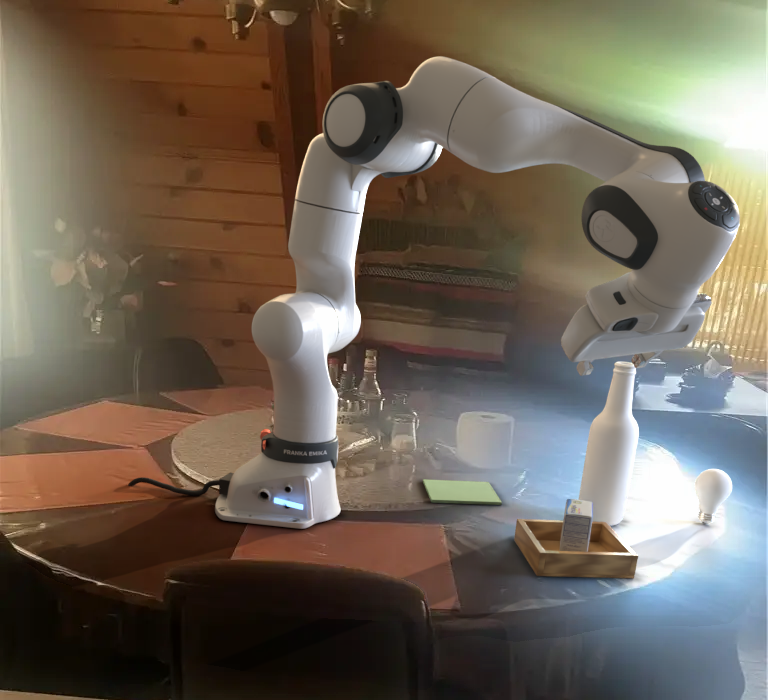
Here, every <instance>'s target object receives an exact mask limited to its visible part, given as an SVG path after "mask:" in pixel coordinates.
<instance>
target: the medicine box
mask: <svg viewBox="0 0 768 700" xmlns="http://www.w3.org/2000/svg"><path fill="white" fill-rule="evenodd" d="M592 518H593V503H592V502H589V501H584V500H578V499H575V498H566V502H565V506H564V513H563V526H562V533H561V540H560V551H579V552H588V546H589V539H590V532H591V526H592Z"/></svg>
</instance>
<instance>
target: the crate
mask: <svg viewBox="0 0 768 700" xmlns="http://www.w3.org/2000/svg"><path fill="white" fill-rule="evenodd" d="M562 526H563V520H562V519H561V520H559V519H535V518H534V519H532V518H516V523H515V529H514V538H513V540H514V542H515V544H516V545H517V547H518V549H519V550H520V552H521V553H522V555H523V556H524V558H525V560H526V561H527V563H528V564H529V566H530V567H531V569H532V570H533V572H534V574H535V575H536V576H537V577H561V578H562V577H565V578H599V579H600V578H603V579H635V575H636V569H637V565H638V559H639V555H638V554H637V552H635V550H634V549H633V548H632V547H631V546H630V545H629V544H628V543H626V541H625V540H624V539H623V538H622V537H621V536H620V535H619V534H618V533H617V532H616V531H615V530H614V529H613V528H612V527H611V526H609V525H608V524H607V523H606V522H594V521H592V526H591V532H590V539H589V546H588V552H579V551H560V540H561V533H562Z"/></svg>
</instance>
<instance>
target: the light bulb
mask: <svg viewBox="0 0 768 700" xmlns="http://www.w3.org/2000/svg"><path fill="white" fill-rule="evenodd" d="M694 491H695V494H696V497H697V499H698V509H699V512H698V516H697V518H698V520H699V521H700V522H701V523H703V524H707V525H708V524H712V523H714V522H715V518H716V514H717V513H718V511H719V508H720V506H721V505H722V504H723V503H724V502H725V501H726V500H727V499H728V498H729V497H730V495H731V494H732V491H733V482H732V479H731V477H730V476H729V475H728V473H726V472H725V471H723V470H722V469H718V468H708V469H706V470H703V471H701V472H700V473H699V474H698V476H697V477H696V478H695V481H694Z"/></svg>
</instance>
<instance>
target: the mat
mask: <svg viewBox="0 0 768 700" xmlns="http://www.w3.org/2000/svg"><path fill="white" fill-rule="evenodd" d="M422 483H423V486H424V488H425V491H426V493H427V496H428V497H429V500H430V502H431V503H434V504H435V503H436V504H437V503H439V504H462V505H463V504H466V505H467V504H468V505H489V506H490V505H491V506H497V505H498V506H502V505H503V502H502V500H501V498H500V497H499V495H498V494H497V493H496V490H494V488H493V486H492V485H491V484H490V482H489V481H474V480H473V481H472V480H450V479H422Z"/></svg>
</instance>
